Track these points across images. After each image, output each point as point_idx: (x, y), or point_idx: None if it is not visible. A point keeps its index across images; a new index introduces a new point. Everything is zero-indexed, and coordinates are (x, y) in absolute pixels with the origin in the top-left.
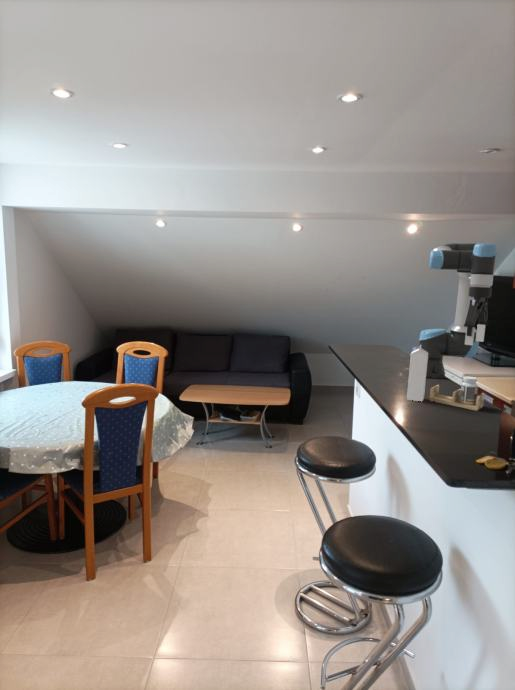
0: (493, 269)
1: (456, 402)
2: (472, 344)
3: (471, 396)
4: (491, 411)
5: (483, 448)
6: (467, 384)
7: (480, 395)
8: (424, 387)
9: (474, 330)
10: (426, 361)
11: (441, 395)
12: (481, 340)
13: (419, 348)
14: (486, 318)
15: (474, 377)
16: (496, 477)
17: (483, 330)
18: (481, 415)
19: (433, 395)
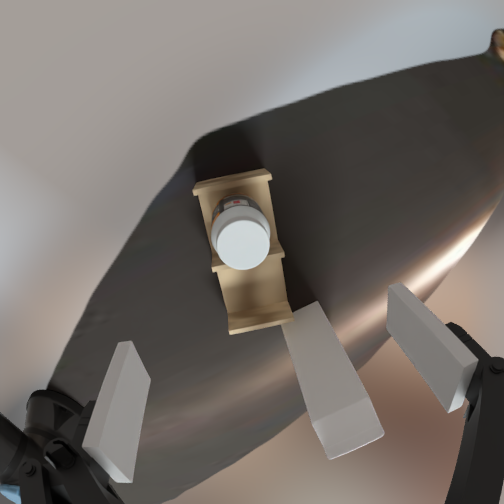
0: None
1: None
2: (401, 285)
3: (256, 203)
4: (228, 139)
5: (486, 67)
6: (267, 232)
7: (238, 182)
8: (304, 331)
9: (452, 348)
10: (348, 383)
11: (230, 302)
12: (134, 355)
13: (380, 428)
14: (46, 498)
15: (220, 238)
16: None
17: (112, 410)
18: (300, 137)
19: (270, 307)
